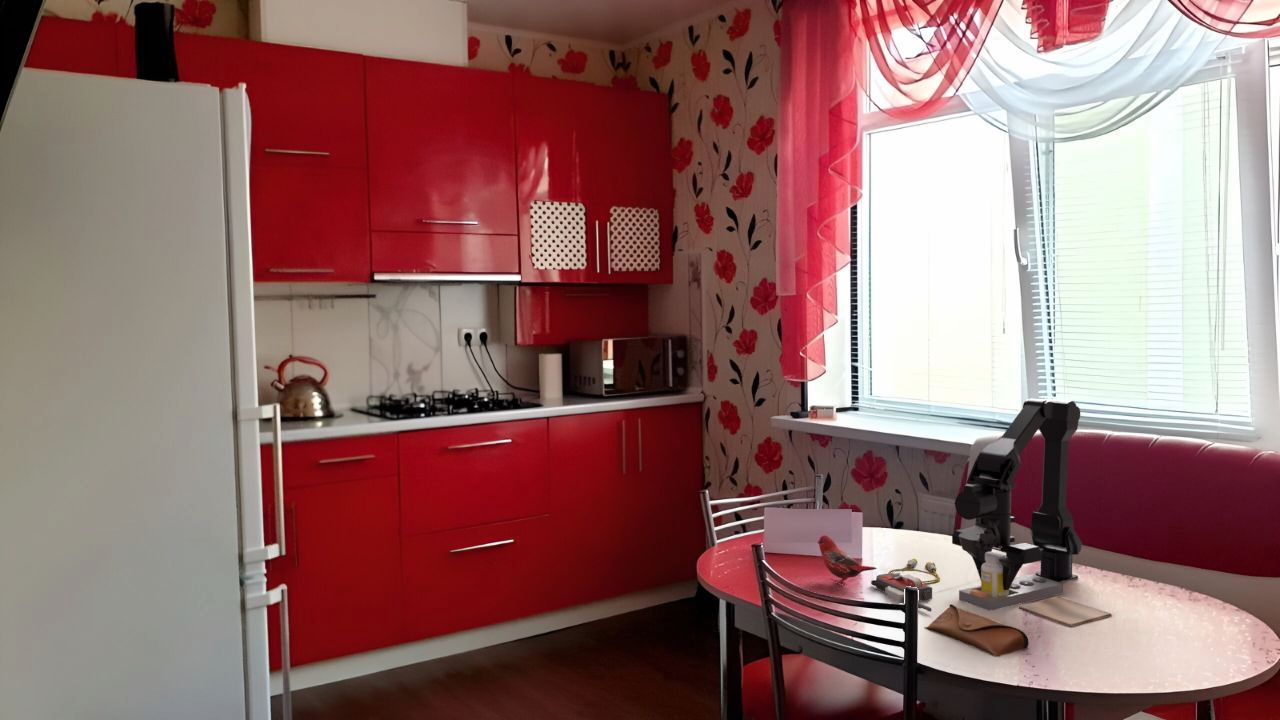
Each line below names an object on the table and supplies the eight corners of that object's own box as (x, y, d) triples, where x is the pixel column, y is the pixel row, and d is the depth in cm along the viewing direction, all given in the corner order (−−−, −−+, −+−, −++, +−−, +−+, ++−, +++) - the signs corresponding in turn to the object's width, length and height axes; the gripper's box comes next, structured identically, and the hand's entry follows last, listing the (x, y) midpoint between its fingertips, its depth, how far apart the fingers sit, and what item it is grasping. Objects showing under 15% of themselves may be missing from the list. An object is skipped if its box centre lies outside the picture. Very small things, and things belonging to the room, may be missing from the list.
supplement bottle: (1009, 598, 199) (1010, 552, 199) (1007, 606, 194) (1008, 558, 194) (982, 595, 202) (982, 549, 201) (979, 602, 197) (980, 556, 196)
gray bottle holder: (1031, 582, 209) (1031, 571, 209) (1063, 593, 202) (1063, 580, 202) (958, 599, 199) (959, 587, 198) (989, 611, 192) (989, 598, 191)
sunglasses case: (919, 627, 183) (932, 594, 184) (941, 639, 186) (954, 607, 188) (998, 657, 168) (1012, 622, 169) (1020, 670, 171) (1033, 635, 172)
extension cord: (960, 576, 216) (960, 567, 216) (918, 591, 206) (918, 581, 206) (914, 564, 226) (915, 556, 226) (872, 578, 216) (872, 569, 216)
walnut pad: (1058, 598, 198) (1058, 596, 198) (1111, 615, 188) (1111, 613, 188) (1018, 608, 193) (1018, 606, 193) (1070, 626, 182) (1070, 624, 182)
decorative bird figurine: (821, 575, 217) (821, 532, 216) (881, 595, 202) (881, 549, 201) (812, 577, 215) (812, 533, 215) (871, 598, 201) (871, 551, 200)
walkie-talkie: (862, 589, 208) (926, 617, 190) (862, 569, 207) (926, 596, 189) (894, 584, 211) (960, 611, 193) (895, 564, 211) (960, 589, 193)
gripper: (933, 507, 201) (932, 580, 202) (1005, 526, 185) (1004, 605, 186) (971, 501, 206) (970, 572, 207) (1044, 519, 190) (1043, 596, 191)
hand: (994, 586), depth 198 cm, fingers closed on supplement bottle, 5 cm apart
